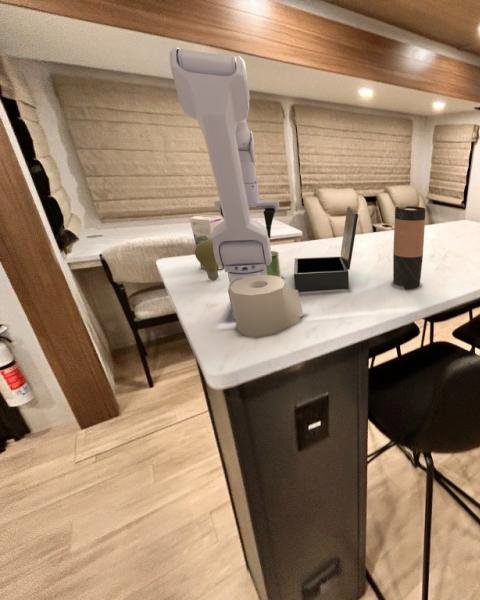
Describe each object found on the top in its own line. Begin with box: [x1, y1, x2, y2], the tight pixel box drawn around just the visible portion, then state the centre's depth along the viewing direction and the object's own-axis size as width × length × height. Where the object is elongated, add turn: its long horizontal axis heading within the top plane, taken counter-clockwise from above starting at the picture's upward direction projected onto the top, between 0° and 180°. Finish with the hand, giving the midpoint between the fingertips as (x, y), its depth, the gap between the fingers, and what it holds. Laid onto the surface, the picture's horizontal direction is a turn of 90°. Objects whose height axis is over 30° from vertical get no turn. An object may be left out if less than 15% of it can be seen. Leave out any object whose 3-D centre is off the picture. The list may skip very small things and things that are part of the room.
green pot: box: [266, 250, 282, 278], centre depth 82 cm, size 6×6×7 cm
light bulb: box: [194, 242, 220, 281], centre depth 79 cm, size 6×6×10 cm
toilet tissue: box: [228, 275, 304, 338], centre depth 60 cm, size 9×13×9 cm
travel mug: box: [392, 205, 426, 290], centre depth 79 cm, size 8×8×20 cm
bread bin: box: [293, 256, 350, 293], centre depth 80 cm, size 13×14×5 cm
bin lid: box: [340, 205, 359, 271], centre depth 78 cm, size 13×14×1 cm
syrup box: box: [189, 214, 223, 270], centre depth 88 cm, size 6×6×14 cm
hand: (253, 238), depth 81 cm, fingers open, 7 cm apart
